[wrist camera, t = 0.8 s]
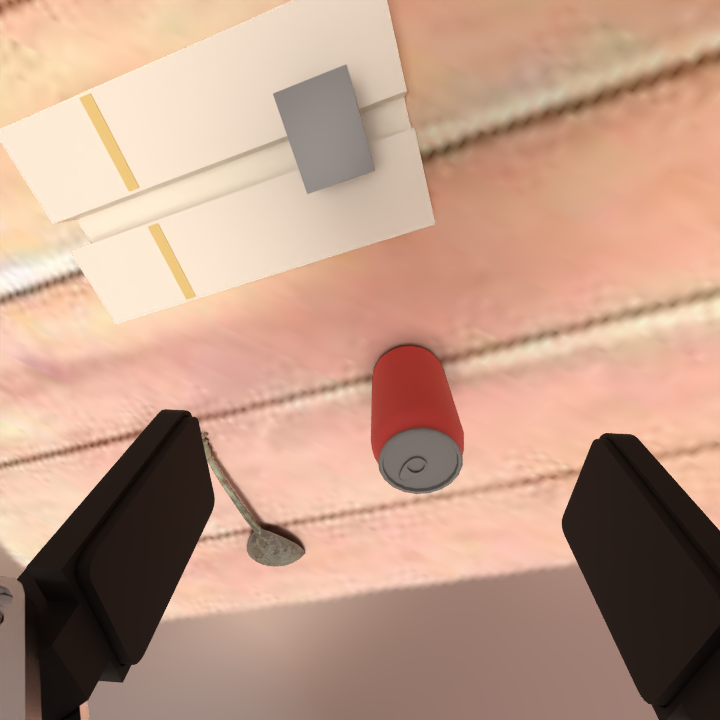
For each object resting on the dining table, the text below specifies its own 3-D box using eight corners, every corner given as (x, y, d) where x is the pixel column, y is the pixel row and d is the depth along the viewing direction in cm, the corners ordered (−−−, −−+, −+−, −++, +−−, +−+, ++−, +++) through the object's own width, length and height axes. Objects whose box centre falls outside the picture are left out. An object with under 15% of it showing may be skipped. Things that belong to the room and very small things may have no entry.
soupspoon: (267, 560, 51) (313, 548, 50) (262, 586, 48) (311, 573, 47) (174, 438, 41) (230, 420, 40) (161, 460, 38) (220, 441, 37)
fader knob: (353, 86, 25) (346, 64, 19) (375, 168, 27) (374, 170, 21) (296, 108, 26) (272, 93, 20) (321, 187, 28) (307, 194, 22)
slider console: (378, -13, 24) (378, -39, 21) (429, 217, 30) (435, 224, 27) (36, 134, 28) (-8, 131, 25) (139, 309, 34) (115, 324, 31)
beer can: (358, 379, 37) (350, 469, 26) (403, 328, 34) (415, 405, 24) (411, 415, 38) (424, 514, 28) (458, 370, 36) (492, 458, 25)
